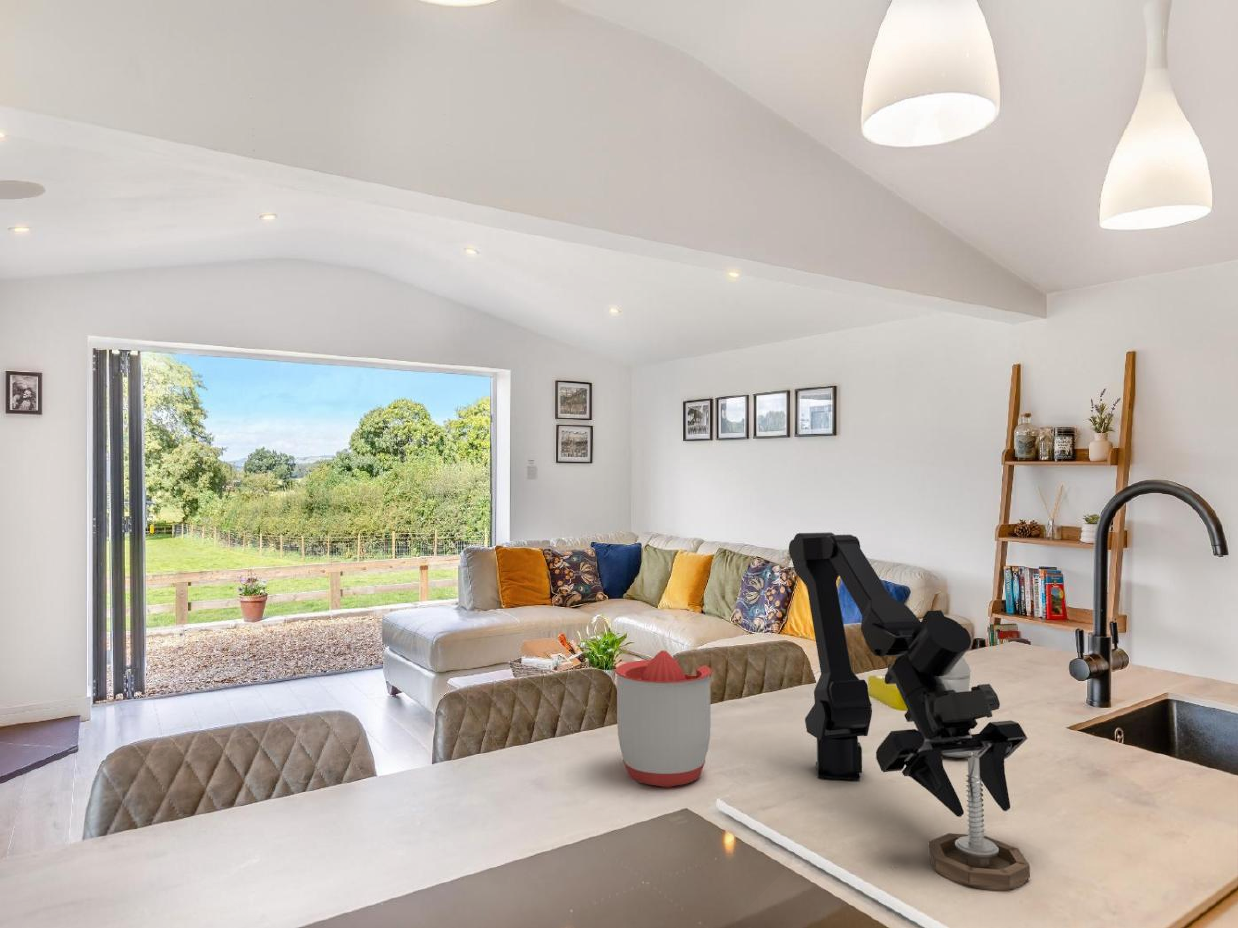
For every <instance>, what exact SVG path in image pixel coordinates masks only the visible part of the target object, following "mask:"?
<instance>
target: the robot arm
mask: <svg viewBox="0 0 1238 928" xmlns="http://www.w3.org/2000/svg"><path fill="white" fill-rule="evenodd" d="M788 554H789V557H790V559H791V561H792V566H793V570H794V573H795V574H796V575H797V576H798V577H799V579H800V580H801V581H802V582H803V584H804V585H805V586H806V589H807V595H808V601H809V608H810V614H811V615H810V616H811V620H812V626H813V632H814V639H815V646H816V650H817V657H818V664H819V668H820V675H819V679H818V680H817V683H816V685H815V688H814V690H813V696H814V697H813V698H814V704H813V705H812V707H811V709H809V710H810V711H809V712H808V713H807V715H806V716H805V718H804V723H805V728H806V732H807V733H808V734H809V735H811V736H813V737H814V738H816V761H815V768H816V774H817V778H819V779H833V780H845V781H846V780H847V781H848V780H849V781H860V780H861V775H860V774H862V773H863V748H862V745H861V742H859V737H867V736H868V735H869V731H870V726H871V720H872V716H873V715H872V714H873V704H872V701H871V698H870V696H869V694H868V682H866V680H865V679H860V678H859V677H858V676H857V675H856V673H855V672H854V671H853V669H852V664H851V663H852V662H851V659H850V653H849V647H848V642H847V636H846V631H845V630H846V629H845V625H844V624H845V623H844V618H843V613H842V609H841V602H840V596H839V589H838V584H837V581H838V579H839V578H840V579H841V580H842V581H841V582H842V583H843V585H844V586H845V588H846V589H847V591H848V593H849V594H850V596H851V598H852V599H853V602H854V603H855V606H856V607H857V609H858V611H859V612H860V614H861V622H860V631H861V634H862V635H863V637H864V641H865V644H866V645H867V647H868V650H869V651H870V652H871V653H872V654H873V656H876V657H880V658H885V657H886V658H887V657H896V659H895V660H894V662H893V663H888V664H887V671H886V673H885V674H884V675H885V683H886V684H896V686H897V688H898V690H899V692H900V694H901V696H902V698H903V701H904V703H905V705H906V707H907V709H908V711H905V713H904V714H903V715H904V717H905V720H906V722H907V723H912V722H913V723H914V725H915V727H916V729H915V728H912V729H900V730H891V731H890V732H889V733H888V734H887V736H886V737H885V739H883V740H882V742H881V743H880V745H879V746H878V747H877V749H876V751H875V759H876V762H877V764H878V766H879V768H880V771H881V772H883V773H888V772H891V773H892V772H898V771H901V773H902V775H903V776H904V777H909V778H910V779H912V780H914V781H915V782H917V783H918V784H919V785H920V786H921V787H922V788H924V789H925V790H927V791H928V792H929V793H930V794H931V795H932V796H934V797H935V798H936V799H937V800H938V801H939V802H940V803H942V804H943V805H944V806H945V808H947V809H949V811H950V812H951V813H952V814H954V815H955V817H958V818H960V817H962V816H963V815H965V812H964V808H963V806H962V803H961V800H960V799H959V798H960V797H959V796H958V794H957V792H956V790H955V788H954V785H953V784H952V781H951V780H950V778H949V776H948V773H947V772H946V769H945V766H944V763H943V762H944V761H943V755H942V754H944V753H954V752H964V751H971V754H972V755H975V756H976V757H978V758H979V763H980V778H981V779H982V782H981V783H982V784H983V786H984V787H985V788H986V790H987V791H988V792H989V795H990V796H991V797H992V798H993V800H994V802H995V803H996V804H997V805H998V806H999V808H1000V809H1001V810H1002V811H1003V812H1007V811H1009V810H1010V809H1011V801H1010V797H1009V790H1008V784H1007V777H1006V771H1005V770H1006V769H1005V760H1007V758H1009V757H1010V756H1011V755H1012V754H1014V753H1015V751H1017V749H1018V748H1019V747H1021V745H1023V743H1024V742H1026V741H1027V740H1028V736H1027V735H1026V733H1025V731H1024V729H1023V728H1022V726H1021V725H1020V723H1018V722H1016V721H1014V720H1011V719H1010V720H1001V721H990V722H988V723H987V724H986V725H985V726H984V727H983V728H982V729H981V731H980V732H978V733H974V734H973V733H972V734H970V733H969V730H973V729H975V728H976V727H977V726H978V722H977V720H979V719H983V718H992V717H993V712H992V711H996V710H998V709H1000V706H1001V702H1000V700H999V697H998V694H997V693H996V691H995V690H994V689H993V687H992V685H991V684H990V683H983V684H977V686H972V687H971V688H970V690H969V691H964V692H956V691H955V690H947V689H946V687H945V685H944V683H943V682H942V680H941V678H940V676H945V675H947V674H948V673H949V672H950V671H951V670H952V669H953V667H954V666H955V665H956V664H957V662H958V661H959V660H960V659H961V657H962V656H964V655H965V654H966V653H967V651H968V650H969V648H970V647H971V646H972V639H971V635H970V633H969V631H968V630H967V628H966V627H963V626H962V624H960V623H959V622H958V621H956V620H954V619H953V618H950V617H947V616H945V615H944V613H943V611H942V609H933V610H930V609H929V610H926V612H925V613H924V615H923V618H922V620H920V618H918V617H917V616H916V614H915V613H914V612H913V611H912V610H911V609H910V607H909V606H908V605H906V604H904V603H903V602H901V601H900V600H897V599H896V598H894V597H893V596H892V595H891V594H890V593H889V591H888V589H887V588H886V586H885V585H884V584H883V581H882V580H881V578H880V577H879V575H878V574H877V572H876V570H875V569H874V568H873V566H872V565H871V563H870V561H869V560H868V558H867V556H866V555H865V554H864V552H863V550H862V549H861V542H860V540H859V538H858V537H857V536H854V535H853V534H835V533H833V532H798V533H796V534H795V535H794V538H793V539H791V540H790V542H789V545H788ZM961 743H962V744H961ZM904 767H905V768H904Z"/></svg>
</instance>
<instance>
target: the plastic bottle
mask: <svg viewBox="0 0 1238 928" xmlns="http://www.w3.org/2000/svg"><path fill="white" fill-rule="evenodd" d="M963 656H964V655H963ZM963 656H962V657H961V659H960V660H959V661H958V662H957V664H956V665H955V666H954V667H953V669H952V670H951V671H950V672H949V673H948V674H947V675H945V676H940V678H941V680H942V682H943V683H944V685H945V687H946V689H947V690H955V691H956V692H964V691H970V683H971V682H970V681H971V668H970V666H969V664H968V662H967V661H966V659H965V658H964V657H963ZM969 733H970V734H973V733H972V729H970V730H969ZM961 744H962V743H961ZM971 754H972V752H971V751H964V752H954V753H944V754H942V756H944V757H948V758H968V757H969V756H971Z"/></svg>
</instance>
